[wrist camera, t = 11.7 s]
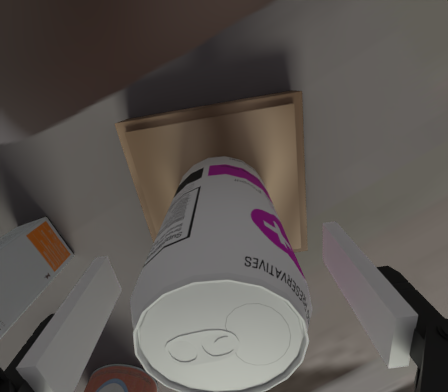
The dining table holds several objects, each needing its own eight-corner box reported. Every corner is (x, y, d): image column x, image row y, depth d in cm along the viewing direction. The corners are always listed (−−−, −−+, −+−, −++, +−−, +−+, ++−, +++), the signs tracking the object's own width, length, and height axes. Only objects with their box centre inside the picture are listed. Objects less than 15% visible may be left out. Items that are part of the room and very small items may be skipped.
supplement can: (253, 143, 22) (307, 240, 8) (272, 223, 25) (333, 390, 11) (165, 167, 23) (78, 293, 9) (194, 242, 26) (163, 419, 12)
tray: (168, 251, 31) (161, 273, 27) (128, 118, 25) (112, 124, 21) (298, 233, 30) (309, 253, 27) (291, 90, 24) (303, 91, 20)
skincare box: (76, 254, 31) (-2, 345, 20) (47, 264, 32) (-45, 358, 21) (46, 213, 29) (-61, 291, 18) (16, 225, 29) (-107, 307, 18)
